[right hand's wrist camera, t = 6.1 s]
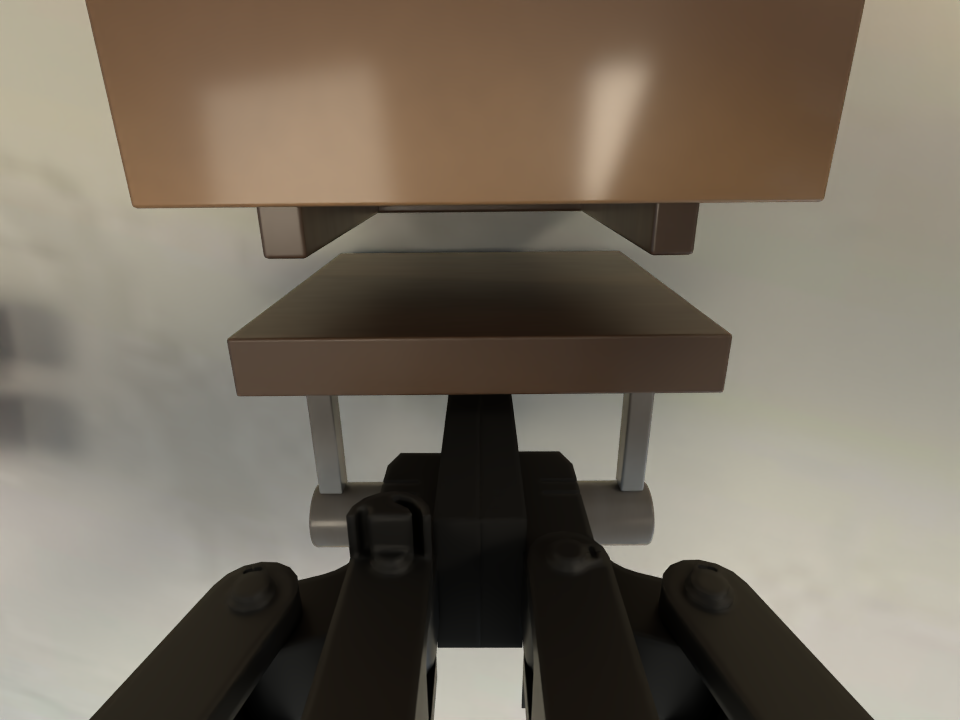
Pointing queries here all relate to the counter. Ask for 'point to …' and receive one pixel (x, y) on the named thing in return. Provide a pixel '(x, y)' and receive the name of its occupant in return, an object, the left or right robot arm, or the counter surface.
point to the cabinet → (474, 100)
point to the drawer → (481, 338)
